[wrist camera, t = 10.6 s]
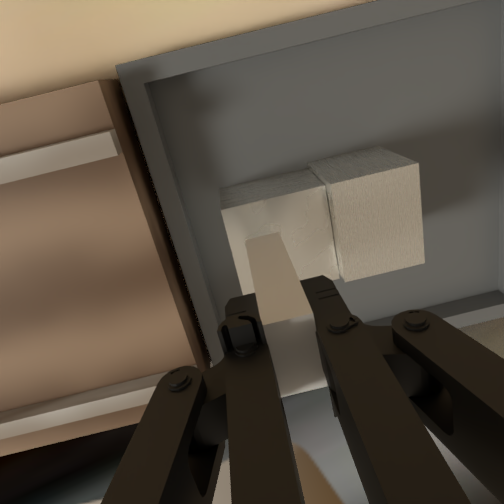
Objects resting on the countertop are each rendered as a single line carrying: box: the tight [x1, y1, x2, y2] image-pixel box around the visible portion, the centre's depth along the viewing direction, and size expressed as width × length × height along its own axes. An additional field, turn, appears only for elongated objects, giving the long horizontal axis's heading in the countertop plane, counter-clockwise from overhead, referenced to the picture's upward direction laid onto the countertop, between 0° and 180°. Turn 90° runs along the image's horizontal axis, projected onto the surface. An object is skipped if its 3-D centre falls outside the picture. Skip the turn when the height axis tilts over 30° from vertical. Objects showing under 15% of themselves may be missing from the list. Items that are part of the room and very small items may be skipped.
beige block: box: [307, 146, 425, 282], centre depth 22 cm, size 5×5×4 cm
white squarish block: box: [219, 168, 340, 295], centre depth 23 cm, size 5×5×4 cm
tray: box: [115, 0, 504, 366], centre depth 24 cm, size 19×20×2 cm
